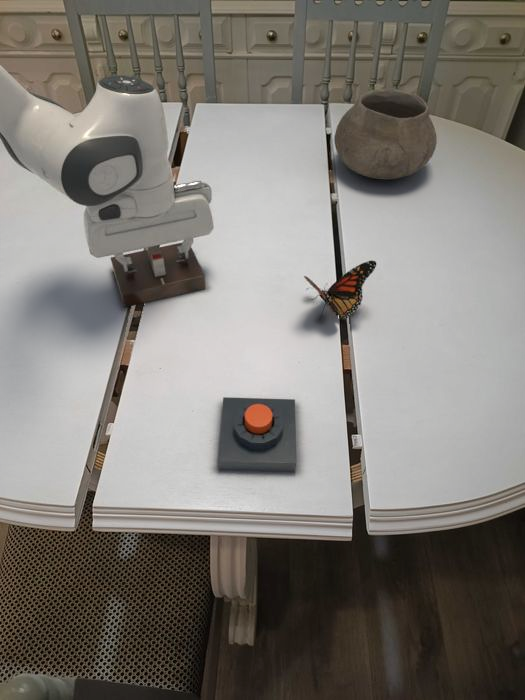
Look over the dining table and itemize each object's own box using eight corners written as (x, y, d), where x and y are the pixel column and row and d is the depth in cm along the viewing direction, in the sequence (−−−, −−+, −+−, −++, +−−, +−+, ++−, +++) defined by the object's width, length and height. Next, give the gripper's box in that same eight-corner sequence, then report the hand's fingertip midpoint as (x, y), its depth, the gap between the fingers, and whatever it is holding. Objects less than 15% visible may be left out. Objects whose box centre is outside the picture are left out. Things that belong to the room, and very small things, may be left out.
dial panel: (124, 307, 88) (121, 293, 86) (113, 270, 94) (110, 256, 92) (205, 288, 92) (204, 274, 89) (189, 254, 98) (188, 240, 95)
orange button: (244, 434, 68) (244, 426, 67) (245, 410, 71) (245, 403, 70) (272, 434, 68) (272, 427, 67) (272, 411, 71) (272, 404, 70)
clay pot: (349, 137, 128) (359, 72, 117) (437, 157, 123) (456, 91, 111) (317, 180, 115) (324, 112, 104) (413, 206, 110) (432, 136, 98)
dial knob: (147, 257, 92) (144, 240, 89) (158, 255, 93) (155, 237, 90) (155, 277, 89) (152, 259, 86) (165, 274, 89) (163, 257, 86)
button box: (218, 469, 69) (217, 453, 66) (223, 406, 76) (222, 389, 73) (295, 471, 69) (297, 456, 66) (293, 408, 76) (295, 391, 73)
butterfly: (348, 283, 93) (357, 237, 86) (376, 320, 88) (388, 274, 80) (285, 300, 90) (288, 253, 83) (309, 339, 84) (315, 293, 77)
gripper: (204, 168, 84) (209, 239, 95) (73, 192, 79) (93, 264, 90) (217, 189, 80) (220, 261, 91) (79, 215, 75) (99, 288, 86)
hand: (156, 262), depth 90 cm, fingers open, 8 cm apart
